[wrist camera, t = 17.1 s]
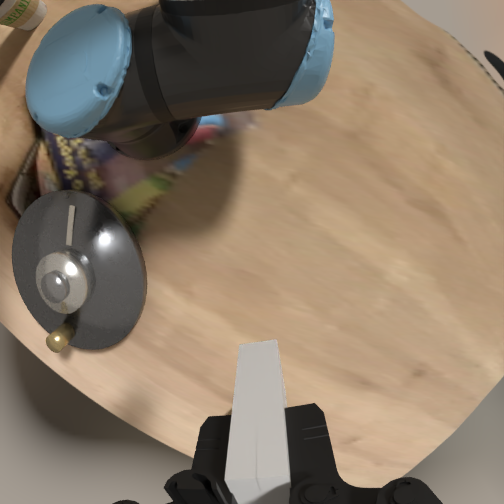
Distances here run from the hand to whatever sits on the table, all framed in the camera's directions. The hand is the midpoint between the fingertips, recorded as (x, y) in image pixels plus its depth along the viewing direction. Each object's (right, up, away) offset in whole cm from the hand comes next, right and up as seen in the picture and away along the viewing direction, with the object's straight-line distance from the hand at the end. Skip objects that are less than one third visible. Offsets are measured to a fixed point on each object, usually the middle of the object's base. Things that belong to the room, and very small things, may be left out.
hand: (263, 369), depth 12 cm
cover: (-28, +1, +30) cm, 41 cm away
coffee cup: (-41, +49, +22) cm, 68 cm away
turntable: (-29, +2, +32) cm, 43 cm away
